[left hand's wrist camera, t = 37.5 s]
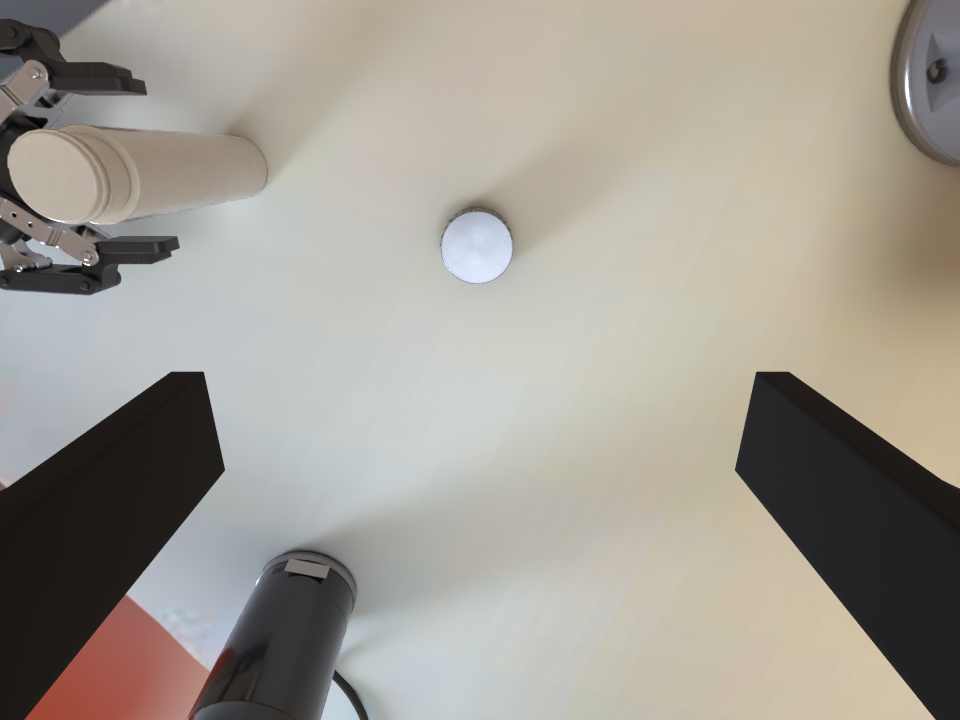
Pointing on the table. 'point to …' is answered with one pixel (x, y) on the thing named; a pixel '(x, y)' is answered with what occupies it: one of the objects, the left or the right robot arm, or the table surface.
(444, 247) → the lid
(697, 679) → the table surface
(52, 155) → the jar
